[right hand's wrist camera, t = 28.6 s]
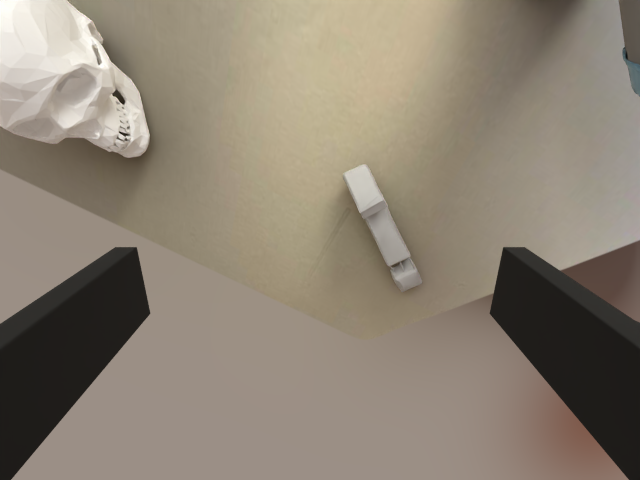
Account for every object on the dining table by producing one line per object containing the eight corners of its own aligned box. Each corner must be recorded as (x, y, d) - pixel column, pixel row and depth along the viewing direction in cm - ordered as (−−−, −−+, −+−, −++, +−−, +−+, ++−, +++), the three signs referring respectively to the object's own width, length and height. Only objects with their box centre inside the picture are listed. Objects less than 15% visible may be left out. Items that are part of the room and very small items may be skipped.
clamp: (339, 172, 47) (345, 187, 40) (364, 159, 46) (373, 172, 40) (394, 280, 55) (406, 306, 49) (416, 270, 54) (430, 295, 48)
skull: (121, 180, 47) (35, 209, 32) (-22, 41, 41) (-209, -3, 26) (188, 116, 45) (127, 114, 30) (46, -42, 39) (-119, -143, 24)
